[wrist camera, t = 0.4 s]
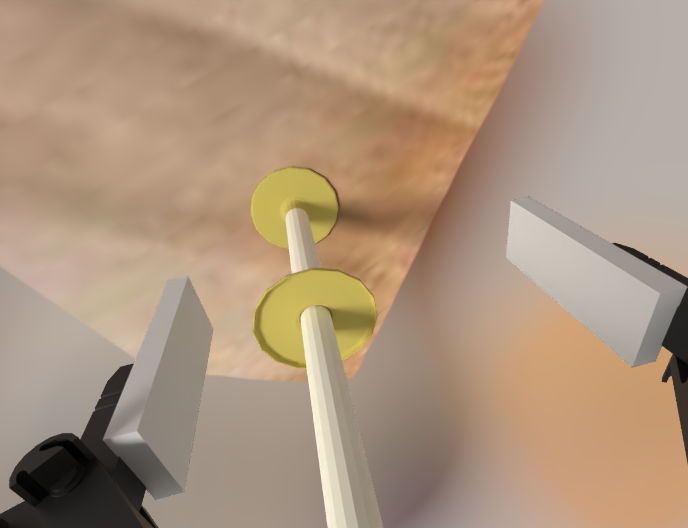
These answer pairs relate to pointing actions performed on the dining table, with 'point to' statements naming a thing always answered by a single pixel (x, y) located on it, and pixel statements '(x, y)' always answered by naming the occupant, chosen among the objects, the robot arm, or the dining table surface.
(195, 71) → the dining table surface
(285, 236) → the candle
